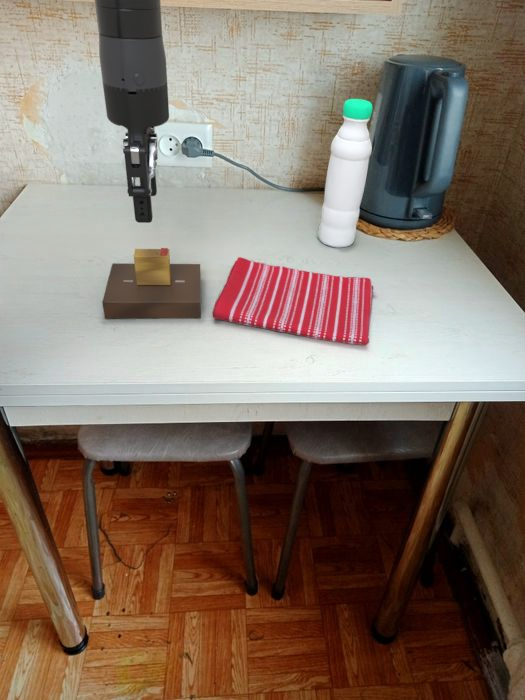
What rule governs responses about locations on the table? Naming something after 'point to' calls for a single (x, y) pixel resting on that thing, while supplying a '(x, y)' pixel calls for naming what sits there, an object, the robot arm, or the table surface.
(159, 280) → the yellow milk carton
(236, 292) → the dish towel
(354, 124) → the water bottle
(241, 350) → the table surface
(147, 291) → the lock plate
